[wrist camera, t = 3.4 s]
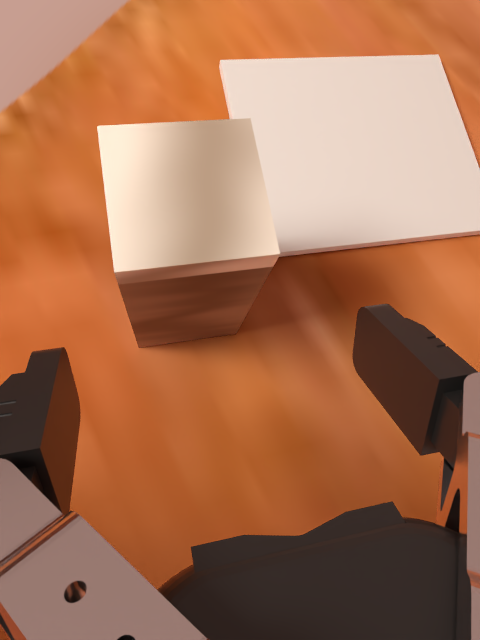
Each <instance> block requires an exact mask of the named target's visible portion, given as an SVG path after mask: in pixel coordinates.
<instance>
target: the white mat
mask: <svg viewBox="0 0 480 640" xmlns="http://www.w3.org/2000/svg"><path fill="white" fill-rule="evenodd" d="M219 69H220V73H221V78H222V83H223V88H224V93H225V98H226V103H227V107H228V112H229V117H230V119H245V118H251V123H252V128H253V132H254V137H255V141H256V146H257V150H258V155H259V159H260V164H261V168H262V173H263V178H264V182H265V187H266V191H267V196H268V200H269V205H270V209H271V214H272V218H273V223H274V228H275V232H276V237H277V241H278V246H279V250H280V255H279V257H281V256H290V255H299V254H308V253H317V252H326V251H335V250H344V249H353V248H362V247H371V246H380V245H389V244H398V243H407V242H416V241H424V240H433V239H442V238H451V237H460V236H469V235H478V234H480V168H479V166H478V163H477V160H476V157H475V154H474V152H473V149H472V146H471V143H470V141H469V138H468V135H467V132H466V130H465V127H464V124H463V121H462V118H461V116H460V113H459V110H458V107H457V105H456V102H455V99H454V96H453V93H452V91H451V88H450V85H449V82H448V80H447V77H446V74H445V71H444V69H443V66H442V63H441V60H440V57H439V55H404V56H363V57H323V58H282V59H241V60H220V67H219Z"/></svg>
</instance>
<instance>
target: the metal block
mask: <svg viewBox="0 0 480 640" xmlns="http://www.w3.org/2000/svg"><path fill="white" fill-rule="evenodd" d="M97 129H98V137H99V146H100V155H101V163H102V172H103V180H104V189H105V197H106V206H107V214H108V223H109V231H110V240H111V248H112V257H113V265H114V273H115V276H116V279H117V282H118V285H119V288H120V291H121V294H122V298H123V301H124V304H125V307H126V310H127V313H128V316H129V319H130V322H131V325H132V328H133V331H134V334H135V337H136V341H137V344H138V347H139V348H140V347H147V346H154V345H161V344H168V343H175V342H182V341H189V340H196V339H203V338H210V337H217V336H224V335H231V334H236V333H237V331H238V330H239V328H240V326H241V324H242V322H243V320H244V319H245V317H246V315H247V313H248V311H249V310H250V308H251V306H252V304H253V302H254V301H255V299H256V297H257V295H258V293H259V292H260V290H261V288H262V286H263V284H264V283H265V281H266V279H267V277H268V275H269V273H270V272H271V270H272V268H273V266H274V264H275V263H276V261H277V259H278V257H279V255H280V250H279V246H278V241H277V237H276V232H275V228H274V223H273V218H272V214H271V209H270V205H269V200H268V196H267V191H266V187H265V182H264V178H263V173H262V168H261V164H260V159H259V155H258V150H257V146H256V141H255V137H254V132H253V128H252V123H251V118H245V119H225V120H205V121H185V122H166V123H146V124H126V125H107V126H97Z"/></svg>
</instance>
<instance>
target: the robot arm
mask: <svg viewBox="0 0 480 640" xmlns="http://www.w3.org/2000/svg"><path fill="white" fill-rule="evenodd" d="M353 362H354V366H355V369H356V372H357V373H358V375H359V376H360V378H361V379H362V380H363V381H364V383H365V384H366V385H367V387H368V388H369V389H370V390H371V392H372V393H373V394H374V396H375V397H376V398H377V400H378V401H379V402H380V403H381V405H382V406H383V407H384V409H385V410H386V411H387V413H388V414H389V415H390V416H391V418H392V419H393V420H394V422H395V423H396V424H397V425H398V427H399V428H400V429H401V431H402V432H403V433H404V435H405V436H406V437H407V438H408V440H409V441H410V442H411V444H412V445H413V446H414V448H415V449H416V450H417V451H418V453H419V454H420V455H426V454H431V453H436V452H440V453H441V454H442V456H443V459H442V462H441V466H440V477H439V490H438V502H437V514H436V524H435V523H432V522H428V521H424V520H420V519H413V518H405V517H402V516H401V515H400V513H399V511H398V510H397V508H396V507H395V505H394V503H393V502H388V503H383V504H379V505H375V506H370V507H366V508H361V509H357V510H352V511H348V512H345V513H343V514H341V515H339V516H338V517H336V518H334V519H332V520H330V521H328V522H326V523H324V524H323V525H321V526H319V527H317V528H315V529H313V530H311V531H309V532H308V533H306V534H303V535H300V536H269V535H242V536H237V537H233V538H229V539H224V540H220V541H215V542H211V543H207V544H202V545H198V546H193V547H191V550H192V557H193V565H191V566H189V567H188V568H186V569H184V570H182V571H181V572H179V573H178V574H176V575H175V576H174V577H172V578H171V579H169V580H168V581H167V582H166V583H165V584H164V585H162V586H161V587H160V588H159V589H158V590H156V589H155V588H154V587H153V586H152V585H151V584H150V583H149V582H148V581H147V580H146V579H145V578H144V577H143V576H142V575H141V574H140V573H139V572H138V571H137V570H136V569H135V568H134V567H133V566H132V565H131V564H130V563H129V562H128V561H126V560H125V559H124V558H123V557H122V556H121V555H120V554H119V553H118V552H117V551H116V550H115V549H114V548H113V547H112V546H111V545H110V544H109V543H108V542H107V541H106V540H105V539H104V538H103V537H102V536H101V535H100V534H99V533H98V532H97V531H96V530H95V529H94V528H93V527H91V526H90V525H89V524H88V523H87V522H86V521H85V520H84V519H83V518H82V517H81V516H80V515H79V514H77V513H76V512H74V511H70V512H69V508H70V500H71V492H72V483H73V475H74V467H75V459H76V450H77V442H78V434H79V426H80V403H79V397H78V393H77V389H76V385H75V381H74V378H73V374H72V370H71V366H70V362H69V358H68V355H67V352H66V350H65V348H64V347H62V348H55V349H48V350H40V351H33V352H32V353H31V356H30V359H29V362H28V365H27V368H26V371H25V373H18V374H12V375H11V376H10V377H9V378H8V379H7V380H6V381H5V382H4V383H3V384H2V385H1V386H0V627H1V628H2V630H3V631H4V633H5V634H6V636H7V637H8V639H9V640H480V372H477V371H476V370H475V369H474V368H473V367H472V366H470V365H469V364H468V363H467V362H466V361H464V360H463V359H462V358H461V357H460V356H459V355H457V354H456V353H455V352H454V351H453V350H452V349H450V348H449V347H448V346H447V347H446V346H445V343H443V342H442V341H441V340H440V339H439V338H436V336H435V335H434V334H433V333H432V332H430V331H429V330H428V329H427V328H426V327H425V326H423V325H421V324H419V323H417V322H415V321H412V320H410V319H408V318H404V317H403V316H402V315H400V314H399V313H398V312H397V311H396V310H395V309H394V308H392V307H391V306H390V305H389V304H381V305H374V306H366V307H361V308H360V309H359V311H358V314H357V322H356V330H355V339H354V347H353Z"/></svg>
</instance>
